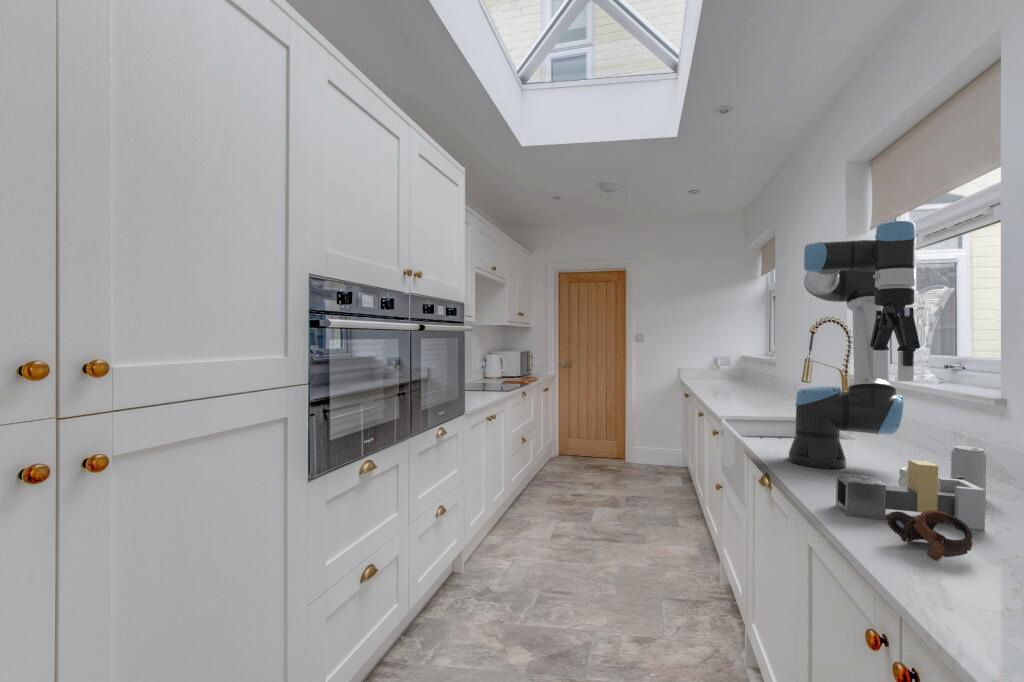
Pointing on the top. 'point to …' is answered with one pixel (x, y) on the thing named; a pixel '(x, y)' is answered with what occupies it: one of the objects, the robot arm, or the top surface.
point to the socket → (966, 501)
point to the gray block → (861, 496)
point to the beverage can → (969, 465)
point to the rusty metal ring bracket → (931, 532)
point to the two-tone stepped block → (920, 491)
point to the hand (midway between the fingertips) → (892, 378)
